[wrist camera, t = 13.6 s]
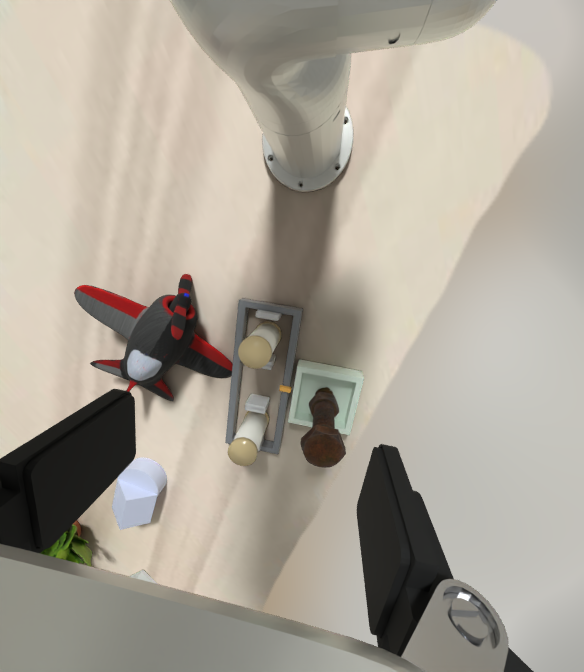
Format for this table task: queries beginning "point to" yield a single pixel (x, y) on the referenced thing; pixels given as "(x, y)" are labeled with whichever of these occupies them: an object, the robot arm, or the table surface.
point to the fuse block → (257, 401)
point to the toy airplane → (153, 337)
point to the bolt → (323, 431)
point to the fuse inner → (260, 345)
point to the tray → (320, 376)
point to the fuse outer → (248, 438)
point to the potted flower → (70, 546)
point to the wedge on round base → (138, 492)
